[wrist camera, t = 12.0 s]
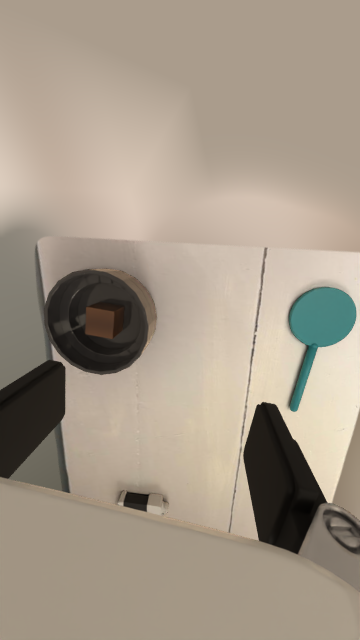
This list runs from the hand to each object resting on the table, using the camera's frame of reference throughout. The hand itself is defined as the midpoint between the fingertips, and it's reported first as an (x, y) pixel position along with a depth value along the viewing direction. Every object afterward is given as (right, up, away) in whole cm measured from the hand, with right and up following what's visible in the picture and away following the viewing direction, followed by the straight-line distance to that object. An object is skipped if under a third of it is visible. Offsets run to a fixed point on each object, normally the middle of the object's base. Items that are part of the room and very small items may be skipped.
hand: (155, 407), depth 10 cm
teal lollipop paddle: (+21, -1, +24) cm, 32 cm away
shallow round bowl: (-10, +5, +26) cm, 28 cm away
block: (-10, +5, +25) cm, 28 cm away
